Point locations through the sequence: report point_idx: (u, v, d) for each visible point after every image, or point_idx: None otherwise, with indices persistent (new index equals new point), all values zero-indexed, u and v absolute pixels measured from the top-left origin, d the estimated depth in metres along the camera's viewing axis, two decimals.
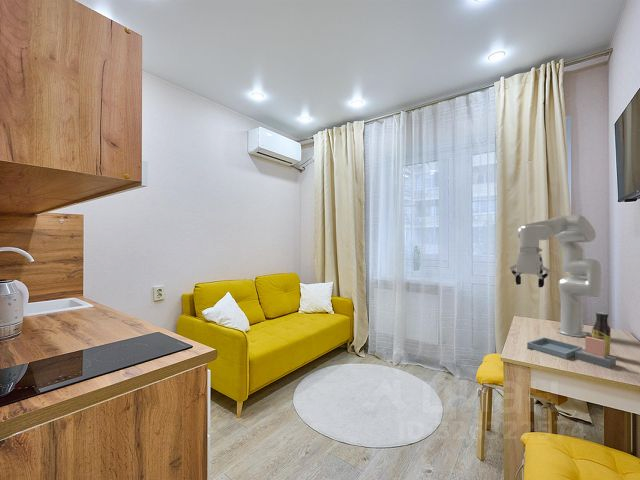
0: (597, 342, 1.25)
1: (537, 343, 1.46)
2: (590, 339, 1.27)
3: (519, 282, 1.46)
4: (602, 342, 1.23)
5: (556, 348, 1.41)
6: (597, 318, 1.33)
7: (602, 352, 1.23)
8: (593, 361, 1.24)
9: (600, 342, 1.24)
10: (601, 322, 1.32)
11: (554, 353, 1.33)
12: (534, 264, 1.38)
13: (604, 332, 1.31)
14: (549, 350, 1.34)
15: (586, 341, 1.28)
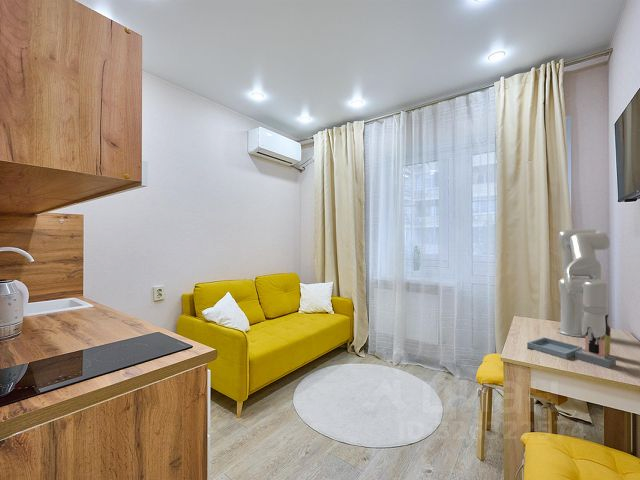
0: None
1: (537, 343, 1.46)
2: None
3: None
4: (602, 342, 1.23)
5: (556, 348, 1.41)
6: None
7: (602, 351, 1.23)
8: (593, 361, 1.24)
9: (600, 342, 1.24)
10: None
11: (554, 353, 1.33)
12: (605, 325, 1.26)
13: None
14: (549, 350, 1.34)
15: (586, 341, 1.28)
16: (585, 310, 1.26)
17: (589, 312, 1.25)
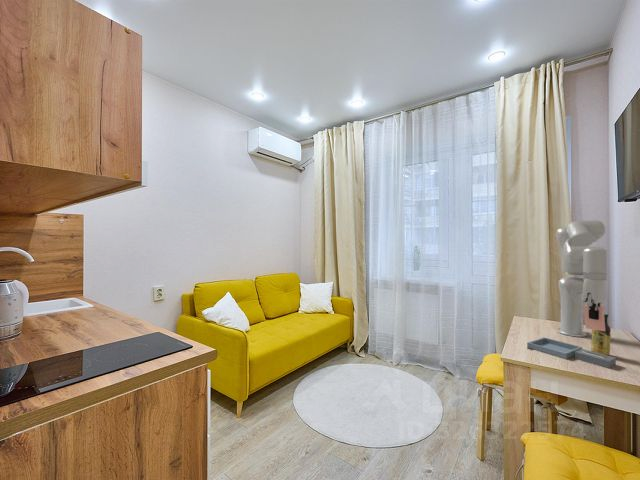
0: None
1: (537, 343, 1.46)
2: None
3: None
4: (601, 308, 1.24)
5: (556, 348, 1.41)
6: None
7: (602, 318, 1.23)
8: (593, 361, 1.24)
9: (599, 309, 1.24)
10: None
11: (554, 353, 1.33)
12: (604, 291, 1.26)
13: (604, 332, 1.31)
14: (549, 350, 1.34)
15: (585, 309, 1.28)
16: (585, 277, 1.26)
17: (589, 278, 1.25)
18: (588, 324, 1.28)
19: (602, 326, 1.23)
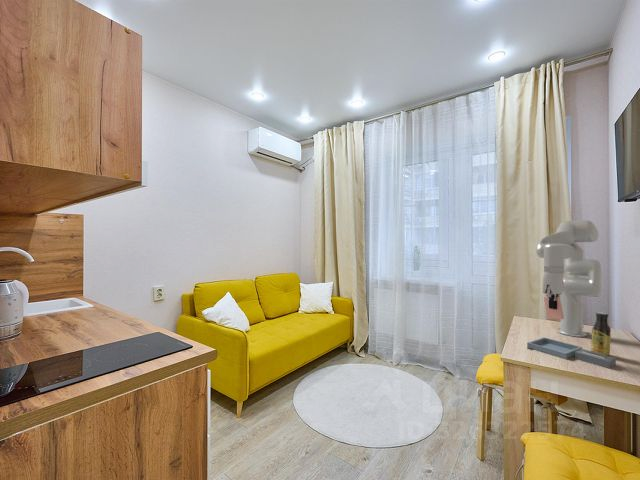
0: None
1: (537, 343, 1.46)
2: None
3: None
4: (557, 298, 1.37)
5: (556, 348, 1.41)
6: (597, 318, 1.33)
7: (559, 307, 1.36)
8: (593, 361, 1.24)
9: (556, 299, 1.38)
10: (601, 322, 1.32)
11: (554, 353, 1.33)
12: (563, 283, 1.39)
13: (604, 332, 1.31)
14: (549, 350, 1.34)
15: (545, 301, 1.42)
16: (545, 270, 1.40)
17: (548, 271, 1.38)
18: (549, 314, 1.40)
19: (560, 314, 1.36)
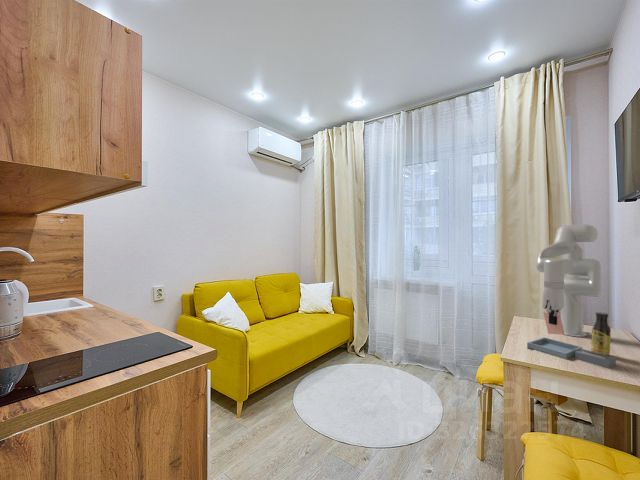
0: None
1: (537, 343, 1.46)
2: (547, 313, 1.41)
3: None
4: (557, 313, 1.37)
5: (556, 348, 1.41)
6: (597, 318, 1.33)
7: (559, 322, 1.36)
8: (593, 361, 1.24)
9: None
10: (601, 322, 1.32)
11: (554, 353, 1.33)
12: (562, 298, 1.39)
13: (604, 332, 1.31)
14: (549, 350, 1.34)
15: (545, 316, 1.42)
16: (545, 285, 1.40)
17: (548, 287, 1.38)
18: (549, 330, 1.40)
19: (561, 330, 1.36)
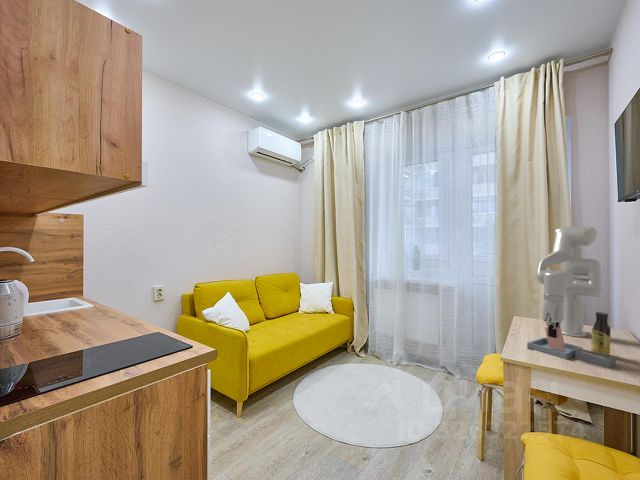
0: None
1: (537, 343, 1.46)
2: None
3: None
4: (558, 329, 1.37)
5: None
6: (597, 318, 1.33)
7: (561, 338, 1.36)
8: (593, 361, 1.24)
9: (557, 329, 1.38)
10: (601, 322, 1.32)
11: (554, 353, 1.33)
12: (563, 311, 1.39)
13: (604, 332, 1.31)
14: (549, 350, 1.34)
15: (546, 331, 1.41)
16: (545, 298, 1.40)
17: (548, 300, 1.38)
18: (550, 345, 1.40)
19: (562, 346, 1.36)
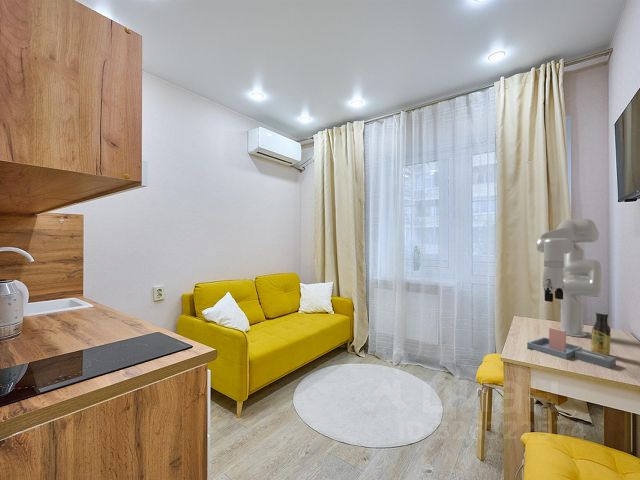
0: (559, 332, 1.37)
1: (537, 343, 1.46)
2: (553, 330, 1.39)
3: None
4: (563, 332, 1.35)
5: None
6: (597, 318, 1.33)
7: (564, 341, 1.35)
8: (593, 361, 1.24)
9: (562, 332, 1.36)
10: (601, 322, 1.32)
11: (554, 353, 1.33)
12: (562, 277, 1.39)
13: (604, 332, 1.31)
14: (549, 350, 1.34)
15: (550, 332, 1.40)
16: (545, 265, 1.40)
17: (548, 266, 1.38)
18: (551, 345, 1.40)
19: (563, 348, 1.36)
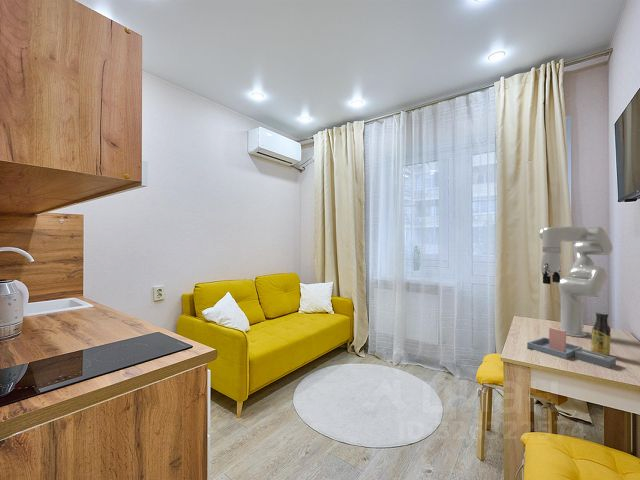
0: (559, 332, 1.37)
1: (537, 343, 1.46)
2: (553, 330, 1.39)
3: None
4: (563, 332, 1.35)
5: None
6: (597, 318, 1.33)
7: (564, 341, 1.35)
8: (593, 361, 1.24)
9: (562, 332, 1.36)
10: (601, 322, 1.32)
11: (554, 353, 1.33)
12: (559, 262, 1.53)
13: (604, 332, 1.31)
14: (549, 350, 1.34)
15: (550, 332, 1.40)
16: (543, 251, 1.54)
17: (546, 252, 1.52)
18: (551, 345, 1.40)
19: (563, 348, 1.36)
